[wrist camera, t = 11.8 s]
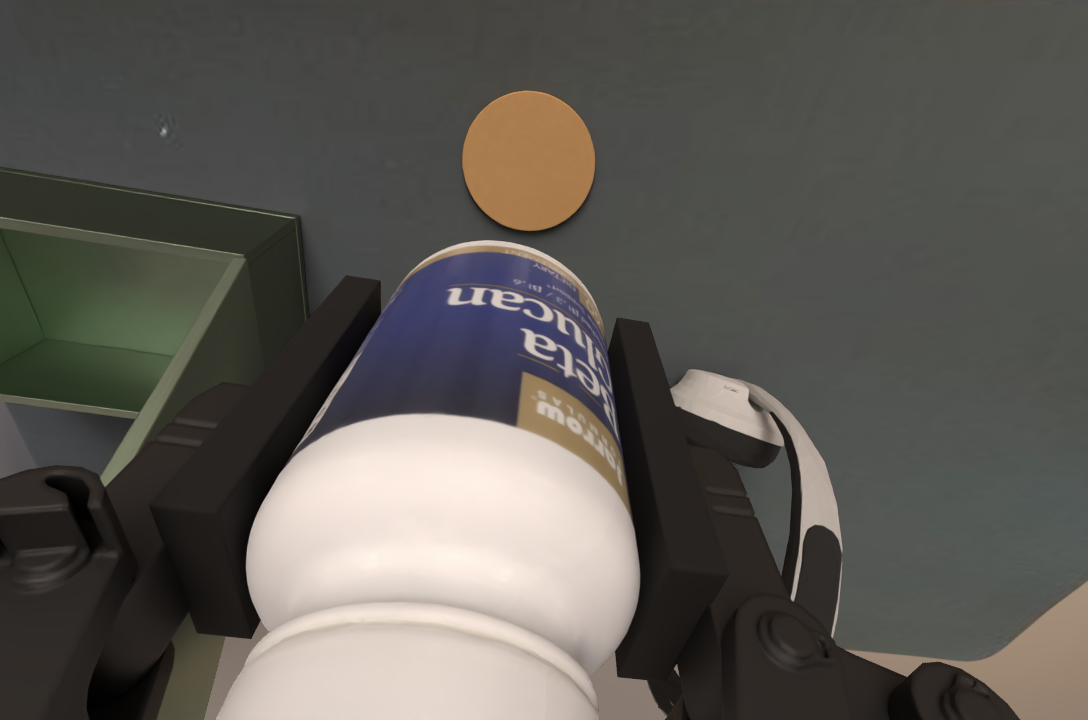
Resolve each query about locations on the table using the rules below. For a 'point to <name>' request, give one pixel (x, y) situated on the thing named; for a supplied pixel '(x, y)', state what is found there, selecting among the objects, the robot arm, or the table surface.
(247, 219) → the box
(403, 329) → the pill bottle
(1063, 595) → the table surface
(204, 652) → the lid
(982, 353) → the table surface
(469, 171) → the coaster
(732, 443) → the headphones
